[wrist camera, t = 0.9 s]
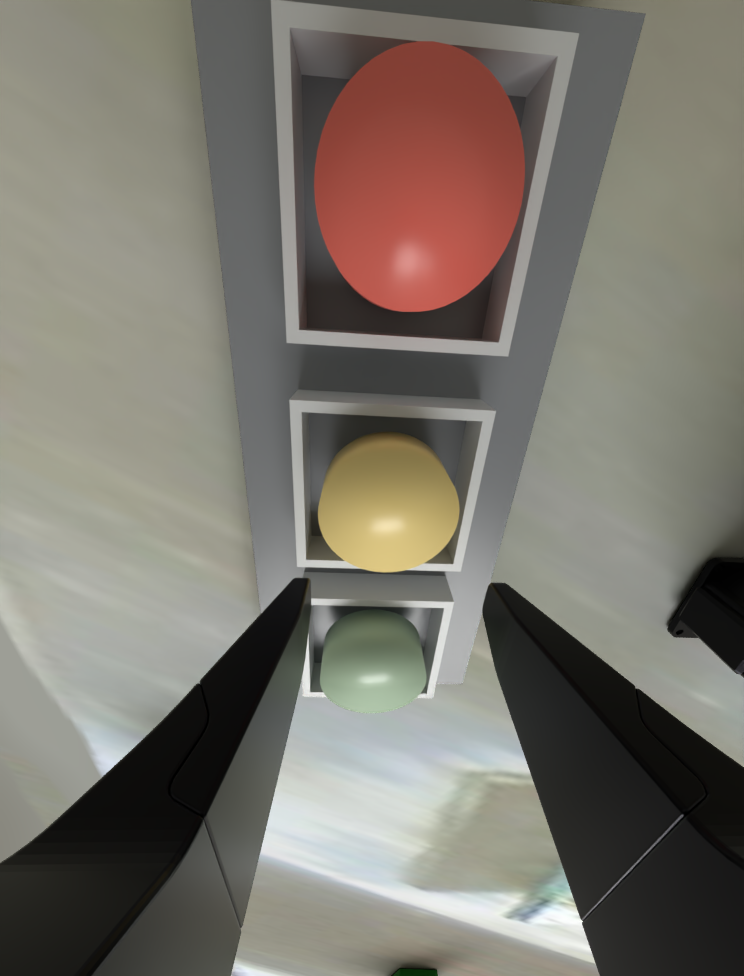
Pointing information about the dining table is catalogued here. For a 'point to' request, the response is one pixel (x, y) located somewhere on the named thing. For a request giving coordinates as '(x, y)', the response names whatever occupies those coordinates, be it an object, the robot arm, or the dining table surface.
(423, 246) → the red button
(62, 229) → the dining table surface
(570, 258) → the button console
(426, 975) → the milk carton
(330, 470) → the mustard button
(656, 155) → the dining table surface
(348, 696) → the green button
